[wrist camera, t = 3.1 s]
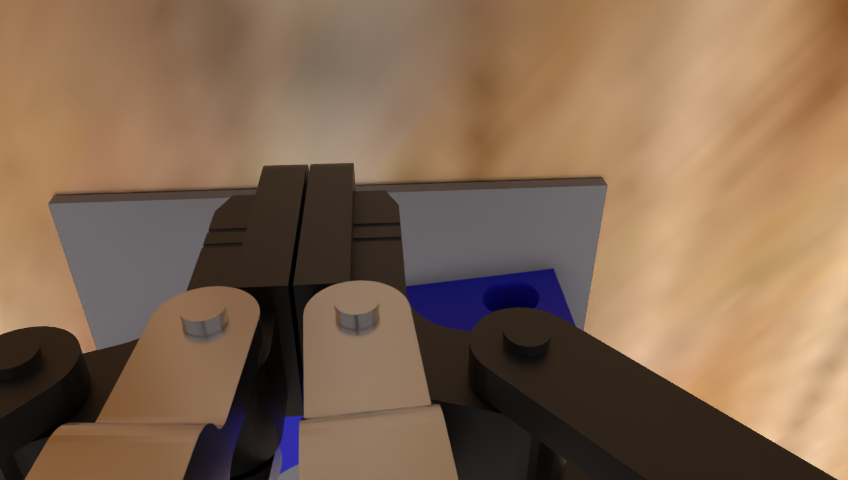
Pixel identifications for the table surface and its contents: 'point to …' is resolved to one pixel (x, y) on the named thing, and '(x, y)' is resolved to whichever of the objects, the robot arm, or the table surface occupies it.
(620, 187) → the table surface
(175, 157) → the table surface
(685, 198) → the table surface
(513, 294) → the blue cradle block
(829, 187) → the table surface
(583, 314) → the t mat
